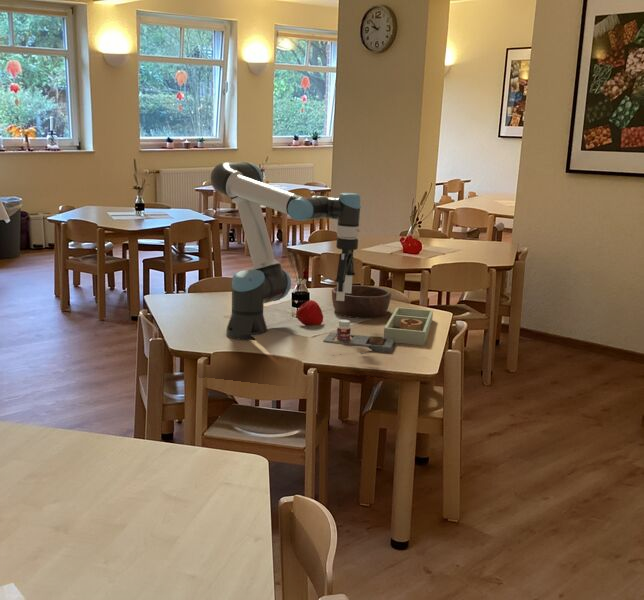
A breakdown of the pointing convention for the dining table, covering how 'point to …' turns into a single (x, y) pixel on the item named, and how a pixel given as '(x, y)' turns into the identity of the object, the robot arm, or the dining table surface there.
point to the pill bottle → (343, 330)
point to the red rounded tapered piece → (310, 313)
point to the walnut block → (376, 339)
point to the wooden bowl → (363, 302)
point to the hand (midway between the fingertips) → (343, 296)
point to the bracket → (411, 324)
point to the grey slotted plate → (364, 342)
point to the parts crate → (408, 335)
